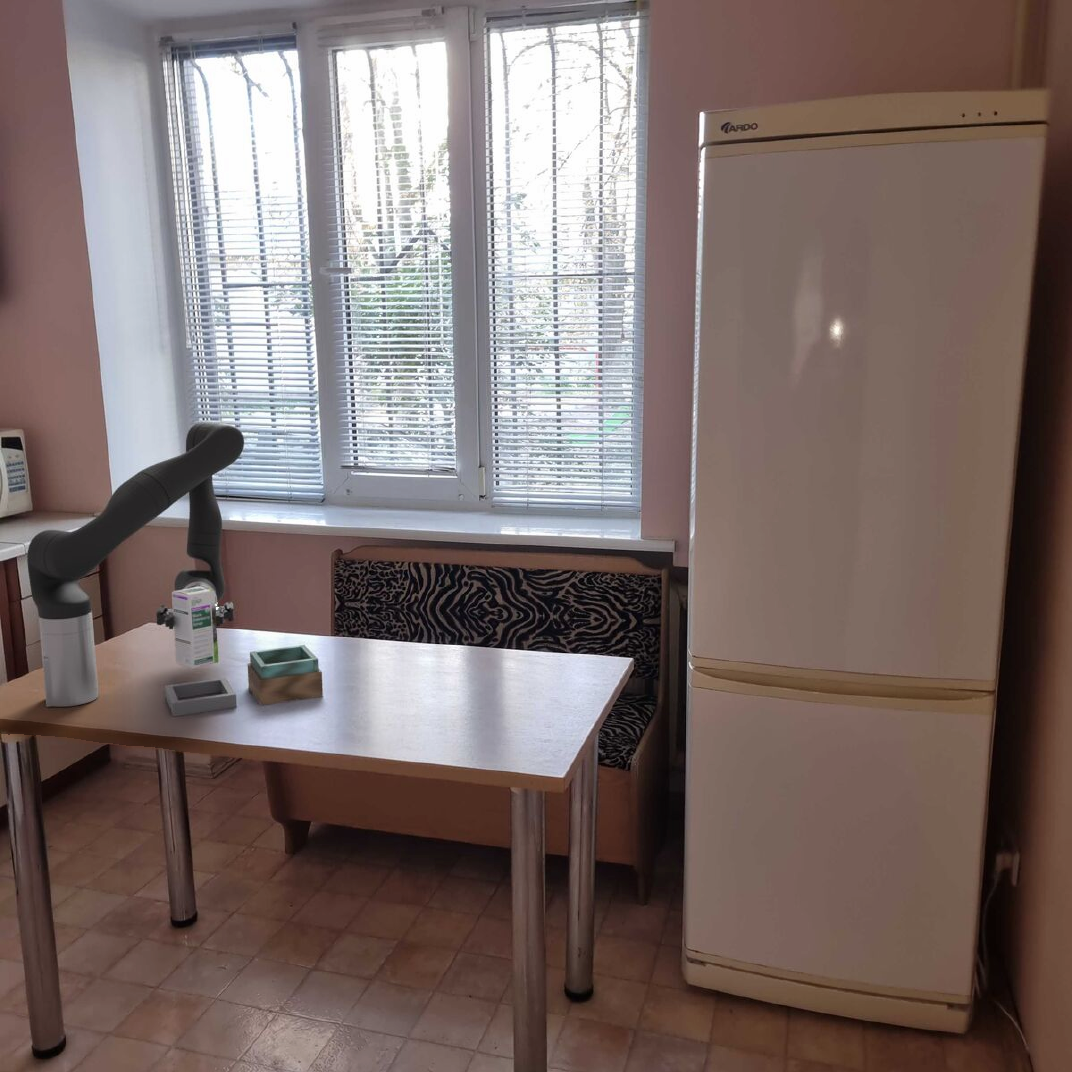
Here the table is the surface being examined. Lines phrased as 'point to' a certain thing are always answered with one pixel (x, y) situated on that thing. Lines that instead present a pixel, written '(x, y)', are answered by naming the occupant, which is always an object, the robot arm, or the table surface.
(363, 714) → the table surface
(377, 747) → the table surface
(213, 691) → the low ring
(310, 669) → the raised dock
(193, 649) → the syrup box
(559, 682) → the table surface
